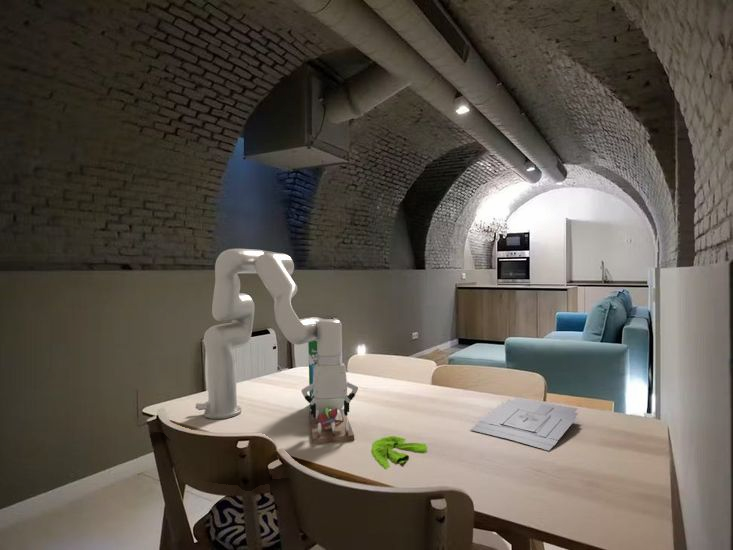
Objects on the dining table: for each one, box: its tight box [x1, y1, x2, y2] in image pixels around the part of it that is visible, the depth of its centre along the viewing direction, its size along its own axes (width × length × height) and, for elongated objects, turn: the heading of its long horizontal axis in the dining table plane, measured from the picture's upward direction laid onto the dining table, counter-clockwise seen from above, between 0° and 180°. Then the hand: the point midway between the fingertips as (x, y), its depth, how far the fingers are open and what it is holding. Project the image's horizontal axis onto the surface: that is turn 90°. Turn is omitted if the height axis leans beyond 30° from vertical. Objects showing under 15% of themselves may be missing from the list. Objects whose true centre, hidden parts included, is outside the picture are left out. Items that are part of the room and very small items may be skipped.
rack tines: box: [316, 407, 349, 437], centre depth 139 cm, size 9×24×4 cm, turn 10°
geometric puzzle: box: [318, 407, 343, 430], centre depth 133 cm, size 7×7×8 cm
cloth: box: [371, 435, 428, 469], centre depth 118 cm, size 20×22×2 cm
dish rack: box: [308, 410, 355, 445], centre depth 139 cm, size 12×25×2 cm, turn 10°
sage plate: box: [311, 392, 345, 415], centre depth 144 cm, size 11×1×11 cm, turn 100°
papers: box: [470, 396, 579, 451], centre depth 136 cm, size 24×30×4 cm
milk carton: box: [308, 340, 317, 411], centre depth 160 cm, size 9×9×25 cm
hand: (330, 415), depth 133 cm, fingers open, 9 cm apart
